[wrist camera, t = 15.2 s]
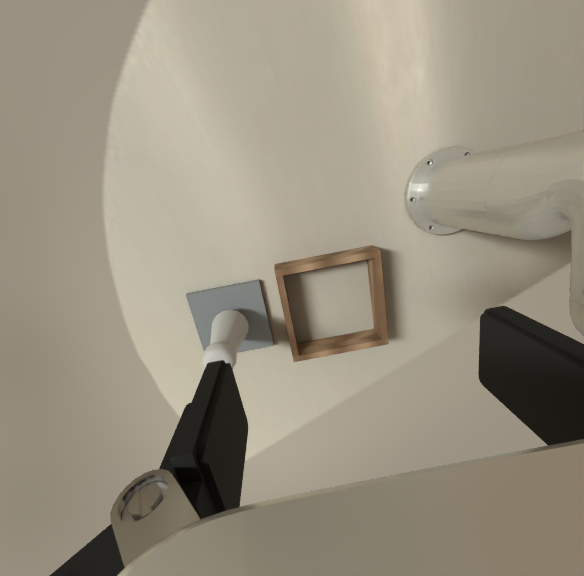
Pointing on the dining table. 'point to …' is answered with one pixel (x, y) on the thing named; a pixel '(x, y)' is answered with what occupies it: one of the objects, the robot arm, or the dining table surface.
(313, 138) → the dining table surface
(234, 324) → the salt shaker
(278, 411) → the dining table surface
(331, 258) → the bin
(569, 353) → the robot arm
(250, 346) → the mat
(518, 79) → the dining table surface
